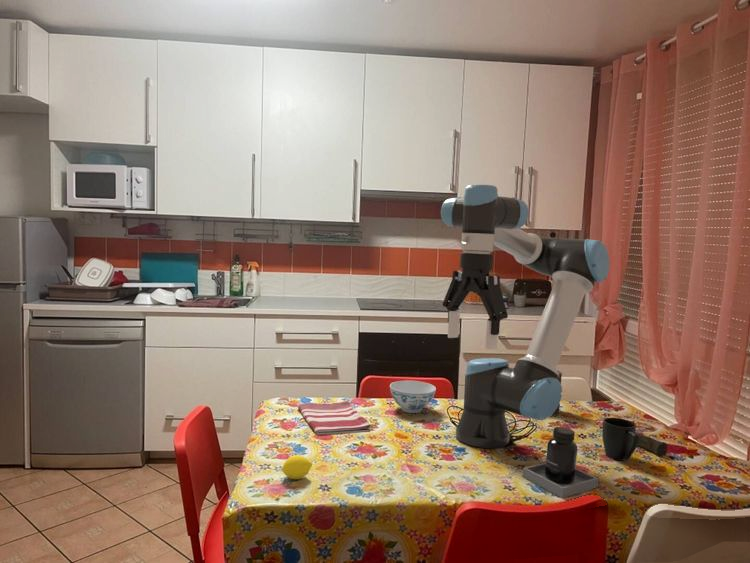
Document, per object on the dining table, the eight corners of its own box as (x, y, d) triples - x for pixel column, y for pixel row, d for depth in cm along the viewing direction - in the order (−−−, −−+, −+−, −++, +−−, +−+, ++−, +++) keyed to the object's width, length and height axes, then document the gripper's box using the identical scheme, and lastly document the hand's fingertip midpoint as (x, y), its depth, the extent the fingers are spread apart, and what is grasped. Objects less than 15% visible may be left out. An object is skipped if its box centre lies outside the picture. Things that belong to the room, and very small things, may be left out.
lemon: (284, 486, 129) (282, 463, 128) (281, 476, 134) (279, 454, 133) (315, 479, 131) (312, 457, 130) (311, 470, 136) (308, 448, 135)
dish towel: (348, 407, 188) (348, 399, 187) (371, 432, 166) (372, 423, 165) (297, 410, 182) (297, 402, 182) (315, 437, 160) (315, 427, 160)
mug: (618, 468, 147) (621, 432, 146) (594, 450, 159) (597, 417, 158) (648, 468, 148) (651, 432, 147) (622, 450, 160) (625, 417, 159)
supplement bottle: (543, 481, 135) (547, 432, 134) (545, 470, 141) (549, 423, 140) (574, 487, 132) (578, 437, 131) (575, 475, 139) (579, 428, 138)
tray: (522, 476, 139) (523, 467, 139) (557, 468, 145) (557, 459, 145) (561, 497, 128) (562, 488, 128) (597, 487, 135) (598, 478, 135)
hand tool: (668, 456, 158) (669, 440, 157) (657, 457, 156) (659, 441, 156) (615, 432, 175) (616, 418, 175) (605, 434, 174) (606, 419, 173)
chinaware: (391, 401, 195) (392, 379, 195) (435, 405, 193) (436, 382, 193) (386, 414, 181) (387, 390, 180) (433, 419, 179) (435, 395, 178)
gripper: (431, 249, 141) (426, 334, 143) (502, 255, 119) (495, 355, 121) (455, 249, 145) (450, 332, 147) (528, 256, 123) (521, 352, 125)
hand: (471, 342), depth 134 cm, fingers open, 13 cm apart
